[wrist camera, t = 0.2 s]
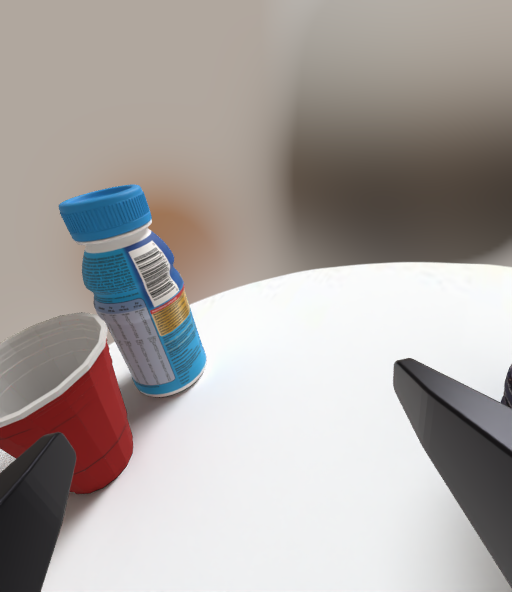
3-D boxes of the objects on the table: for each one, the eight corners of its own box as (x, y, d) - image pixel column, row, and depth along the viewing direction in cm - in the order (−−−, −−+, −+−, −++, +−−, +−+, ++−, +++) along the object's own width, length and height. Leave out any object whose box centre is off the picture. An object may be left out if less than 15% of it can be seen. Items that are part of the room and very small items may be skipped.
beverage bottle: (133, 412, 31) (28, 216, 22) (137, 361, 38) (59, 197, 29) (214, 384, 33) (150, 188, 23) (203, 340, 40) (151, 177, 30)
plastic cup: (10, 481, 27) (-89, 380, 21) (121, 395, 34) (69, 301, 28) (59, 573, 20) (-65, 462, 14) (185, 443, 27) (135, 332, 21)
